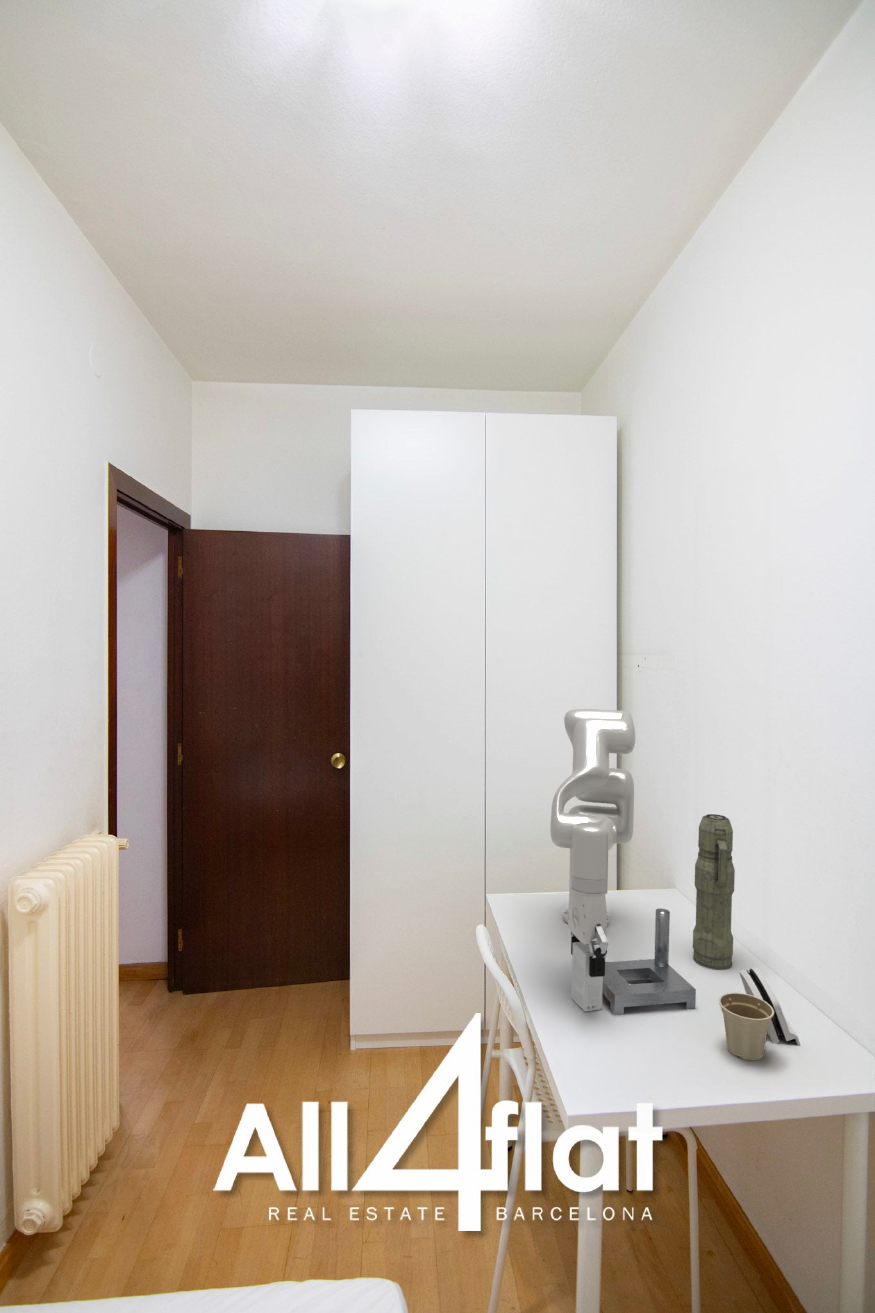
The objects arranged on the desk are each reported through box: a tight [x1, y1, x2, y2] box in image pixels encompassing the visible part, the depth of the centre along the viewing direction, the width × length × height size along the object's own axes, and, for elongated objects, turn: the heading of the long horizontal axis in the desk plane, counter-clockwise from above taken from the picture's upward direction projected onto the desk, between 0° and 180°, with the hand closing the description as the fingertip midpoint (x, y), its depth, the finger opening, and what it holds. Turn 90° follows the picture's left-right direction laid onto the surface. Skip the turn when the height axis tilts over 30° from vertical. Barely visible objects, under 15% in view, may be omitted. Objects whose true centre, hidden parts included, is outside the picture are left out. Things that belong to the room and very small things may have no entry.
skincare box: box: [571, 942, 603, 1013], centre depth 141 cm, size 6×4×12 cm
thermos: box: [692, 813, 736, 971], centre depth 161 cm, size 9×12×35 cm
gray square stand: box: [602, 907, 697, 1016], centre depth 145 cm, size 14×18×16 cm
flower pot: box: [718, 992, 774, 1061], centre depth 125 cm, size 9×9×9 cm
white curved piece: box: [738, 967, 801, 1046], centre depth 136 cm, size 17×5×10 cm, turn 170°
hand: (587, 965), depth 140 cm, fingers open, 9 cm apart
